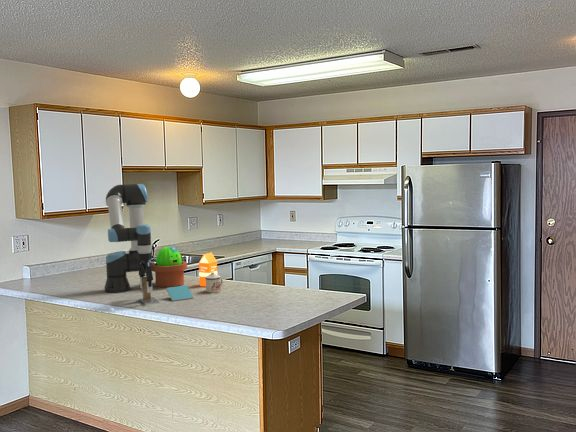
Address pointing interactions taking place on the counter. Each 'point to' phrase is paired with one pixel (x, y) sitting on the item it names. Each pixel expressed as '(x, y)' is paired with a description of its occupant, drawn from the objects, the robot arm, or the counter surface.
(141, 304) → the rubber tool mat
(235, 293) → the counter surface
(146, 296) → the steel trowel
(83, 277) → the counter surface
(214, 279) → the teacup with lid
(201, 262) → the orange juice
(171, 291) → the ceramic tile
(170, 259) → the potted cactus
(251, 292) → the counter surface
